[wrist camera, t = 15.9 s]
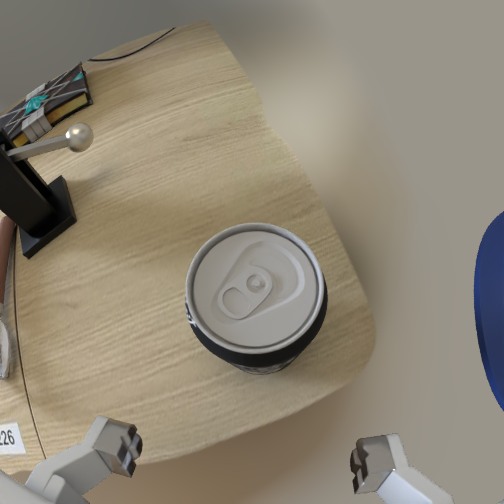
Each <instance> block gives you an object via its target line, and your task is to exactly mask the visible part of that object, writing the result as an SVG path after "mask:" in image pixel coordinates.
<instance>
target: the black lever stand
mask: <svg viewBox="0 0 504 504" xmlns="http://www.w3.org/2000/svg"><path fill="white" fill-rule="evenodd" d="M2 144H4V145H5V150H6V151H9V150H12V149H15V148H17V147H16V145H15V144H14V143H13V141H12V140H11V139H10V137H9V136H8V135H7V133H6V132H5V130H4V129H3V128H2V127H1V128H0V145H2ZM0 210H1V211H2V212H3V213H5V214H6V215H7V216H8V217H9V218H10V219H11V220H12V221H13V222H15V223H16V224H17V225H18V226H19V231H20V239H21V246H22V252H23V255H24V256H25V257H27V258H28V259H29V258H31V257H32V256H33V255H34V254H35V253H37V252H38V251H39V250H40V249H41V248H43V247H44V246H45V245H46V244H48V243H49V242H50V241H51V240H53V239H54V238H55V237H57V236H58V235H59V234H60V233H62V232H63V231H64V230H66V229H67V228H68V227H70V226H71V225H72V224H74V223H75V222H76V221H77V219H76V216H75V213H74V210H73V206H72V203H71V199H70V196H69V192H68V188H67V185H66V181H65V179H64V178H63V177H62V175H60V176H59V177H58V178H56V179H55V180H54V181H53V182H51V183H50V184H49V185H47V184H46V182H45V181H44V180H43V179H42V178H41V176H40V175H39V174H38V173H37V172H36V170H35V169H34V168H33V167H32V166H31V164H30V163H29V162H28V161H27V159H22V160H19V161H16V162H13V161H12V160H11V159H10V158H9V157H8V155H7V154H6V153H5V152H4V150H3V149H2V148H1V147H0Z"/></svg>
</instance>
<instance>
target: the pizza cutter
mask: <svg viewBox="0 0 504 504" xmlns="http://www.w3.org/2000/svg"><path fill="white" fill-rule="evenodd" d="M14 228H15V222H13V221H12V220H11V219H10V218H9V217H8V216H5V217H3V218H2V220H1V223H0V317H3V316H4V305H3V302H4V291H5V281H6V273H7V266H8V260H9V253H10V248H11V242H12V237H13V232H14ZM0 344H1V351H0V379H5V378H7V377H8V372H9V363H10V347H11V343H10V337H9V332H8V329H7V327H6V324H5V323H4V322H3V321H2V320H0Z"/></svg>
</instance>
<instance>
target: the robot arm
mask: <svg viewBox="0 0 504 504" xmlns="http://www.w3.org/2000/svg"><path fill="white" fill-rule="evenodd" d="M136 431H137V428H136V426H135V425H134V424H130V423H126V422H122V421H118V420H114V419H111V418H108V417H104V416H101V415H99V416H98V417H97V418H96V419H95V421H94V422H93V424H92V426H91V427H90V429H89V431H88V433H87V434H86V436H85V438H84V440H83V441H82V443H81V444H80V443H77V444H75V445H73V446H71V447H70V448H68V449H66V450H64V451H62V452H60V453H58V454H56V455H54V456H52V457H50V458H48V459H46V460H44V461H42V462H40V463H38V464H37V465H36V467H35V468H34V470H33V472H32V473H31V475H30V477H29V478H28V480H27V482H26V483H25V485H22V484H21V483H20V482H18V481H16V480H15V479H14V478H12V477H11V476H9V475H8V474H6V473H5V472H4V471H2V470H1V469H0V504H90V503H89V502H88V501H87V500H85V499H84V498H83V497H82V495H84V494H85V493H86V492H88V491H89V490H91V489H92V488H93V487H95V486H96V485H97V484H99V483H100V482H102V481H103V480H104V479H106V478H107V477H108V476H110V475H111V474H112V472H113V473H116V474H120V475H124V476H127V477H130V478H131V477H132V475H133V472H134V470H135V467H136V463H135V459H137V458H138V457H140V454H141V452H142V445H143V444H142V439H141V437H140V436H139V435H138V434H137V433H136ZM356 447H357V448H355V449H354V450H353V451H352V453H351V458H350V467H351V471H352V472H353V473H354V474H355V475H356V476H355V477H354V479H353V486H354V493H355V494H361V493H368V492H375V491H376V493H377V494H378V495H379V496H380V497H381V499H382V500H383V501H384V502H385V503H386V504H455V503H454V500H453V497H452V495H451V494H449V493H448V492H446V491H445V490H444V489H442V488H441V487H440V486H438V485H437V484H436V483H434V482H433V481H432V480H430V479H429V478H428V477H426V476H425V475H424V474H423V473H421V472H420V471H419V470H417V469H416V468H415V467H413V466H412V467H410V466H409V463H408V460H407V457H406V454H405V450H404V447H403V445H402V441H401V438H400V435H399V434H397V433H395V434H389V435H381V436H374V437H367V438H360V439H358V440H357V442H356ZM497 504H504V500H502V501H500V502H499V503H497Z"/></svg>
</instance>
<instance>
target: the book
mask: <svg viewBox="0 0 504 504" xmlns="http://www.w3.org/2000/svg"><path fill="white" fill-rule="evenodd" d="M81 65H82V63H81V62H79V63H78V64H77V65H76V66H74V67H73V68H72V69H71V70H69V71H67V72H66V73H64V74H63V75H61V76H59V77H58V78H56V79H55V80H53V81H52V82H50V83H48V84H47V85H46V84H45V83H44V84H43V85H41V86H40V87H38V88H37V89H35V90H34V91H33V92H31V93H30V94H28V95H27V96H26V99H25V100H24V101H22V102H21V103H20V104H18V105H17V106H16V107H14V108H13V109H12V110H11V111H9V112H8V113H7V114H6V115H4V116H1V117H0V128H1V127H2V128H3V129H4V130H5V132H6V133H7V135H8V136H9V137H10V139H11V140H12V141H13V143H14V144H15V145H16V147H17V148H18V147H22V146H25V145H27V144H28V143H29V142H30V143H33V142H34V141H35V140H37V139H38V138H40V137H41V136H42V135H44V134H45V133H47V132H48V131H49V130H51V129H52V128H53V127H52V125H54V124H55V123H57V122H58V121H60V120H61V119H63V118H64V117H66V116H68V115H69V114H71V113H73V112H75V111H76V110H78V109H80V108H82V107H83V106H85V105H89V104H92V103H93V101H92V99H91V96H90V93H89V89H88V85H87V82H86V77H85V74H86V72H85V71H83V68H82V66H81Z"/></svg>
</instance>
